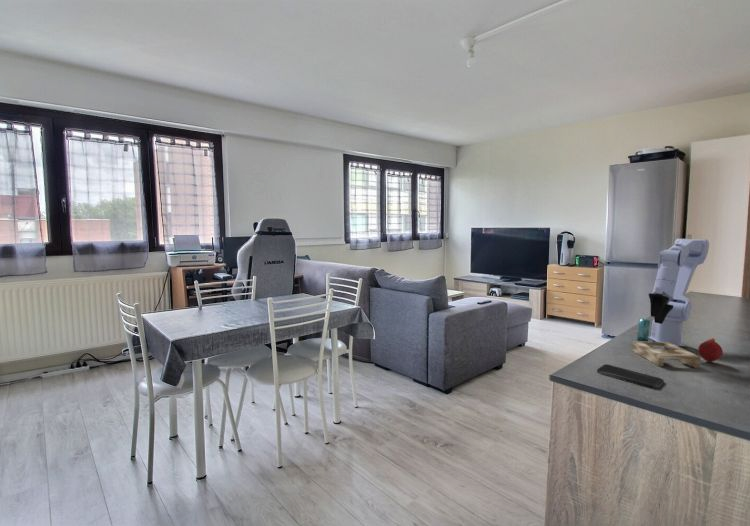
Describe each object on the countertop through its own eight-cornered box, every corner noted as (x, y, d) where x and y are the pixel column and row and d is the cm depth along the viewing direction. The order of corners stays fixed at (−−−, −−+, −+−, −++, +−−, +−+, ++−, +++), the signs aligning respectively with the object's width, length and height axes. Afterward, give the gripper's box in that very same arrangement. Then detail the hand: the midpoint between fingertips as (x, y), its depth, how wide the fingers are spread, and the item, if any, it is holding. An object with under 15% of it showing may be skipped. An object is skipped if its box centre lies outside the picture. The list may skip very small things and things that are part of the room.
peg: (628, 344, 141) (630, 317, 140) (645, 344, 140) (648, 318, 139) (638, 349, 135) (640, 321, 134) (656, 350, 134) (659, 322, 133)
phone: (657, 387, 103) (596, 369, 114) (657, 391, 103) (595, 373, 114) (665, 379, 108) (605, 363, 119) (664, 383, 108) (605, 367, 119)
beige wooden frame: (631, 350, 134) (632, 341, 133) (668, 352, 133) (669, 342, 132) (658, 366, 120) (659, 355, 119) (699, 367, 119) (700, 357, 118)
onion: (712, 366, 120) (715, 341, 120) (692, 359, 126) (695, 335, 125) (725, 364, 122) (728, 340, 121) (705, 358, 128) (708, 334, 127)
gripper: (654, 287, 141) (646, 322, 139) (648, 273, 131) (638, 311, 129) (679, 291, 136) (670, 327, 133) (673, 276, 126) (664, 315, 124)
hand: (656, 319), depth 131 cm, fingers open, 7 cm apart
